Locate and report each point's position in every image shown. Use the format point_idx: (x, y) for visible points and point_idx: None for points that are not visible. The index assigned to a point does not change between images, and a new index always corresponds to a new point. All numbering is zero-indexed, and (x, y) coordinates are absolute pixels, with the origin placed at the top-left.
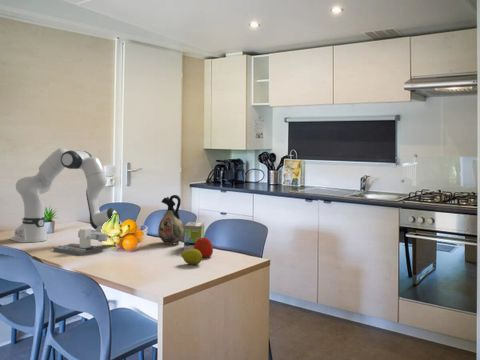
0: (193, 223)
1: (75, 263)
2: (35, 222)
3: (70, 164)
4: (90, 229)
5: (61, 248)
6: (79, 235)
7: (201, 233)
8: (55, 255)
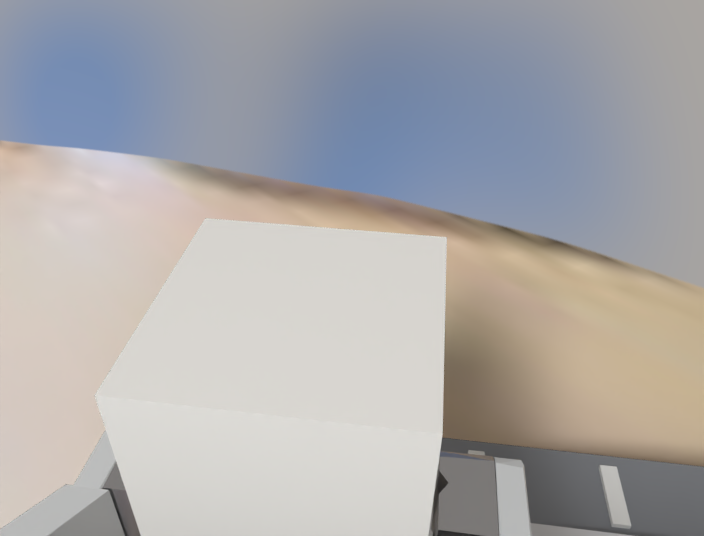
0: None
1: (109, 228)
2: None
3: None
4: (106, 407)
5: (701, 479)
6: (502, 458)
7: None
8: (537, 354)
